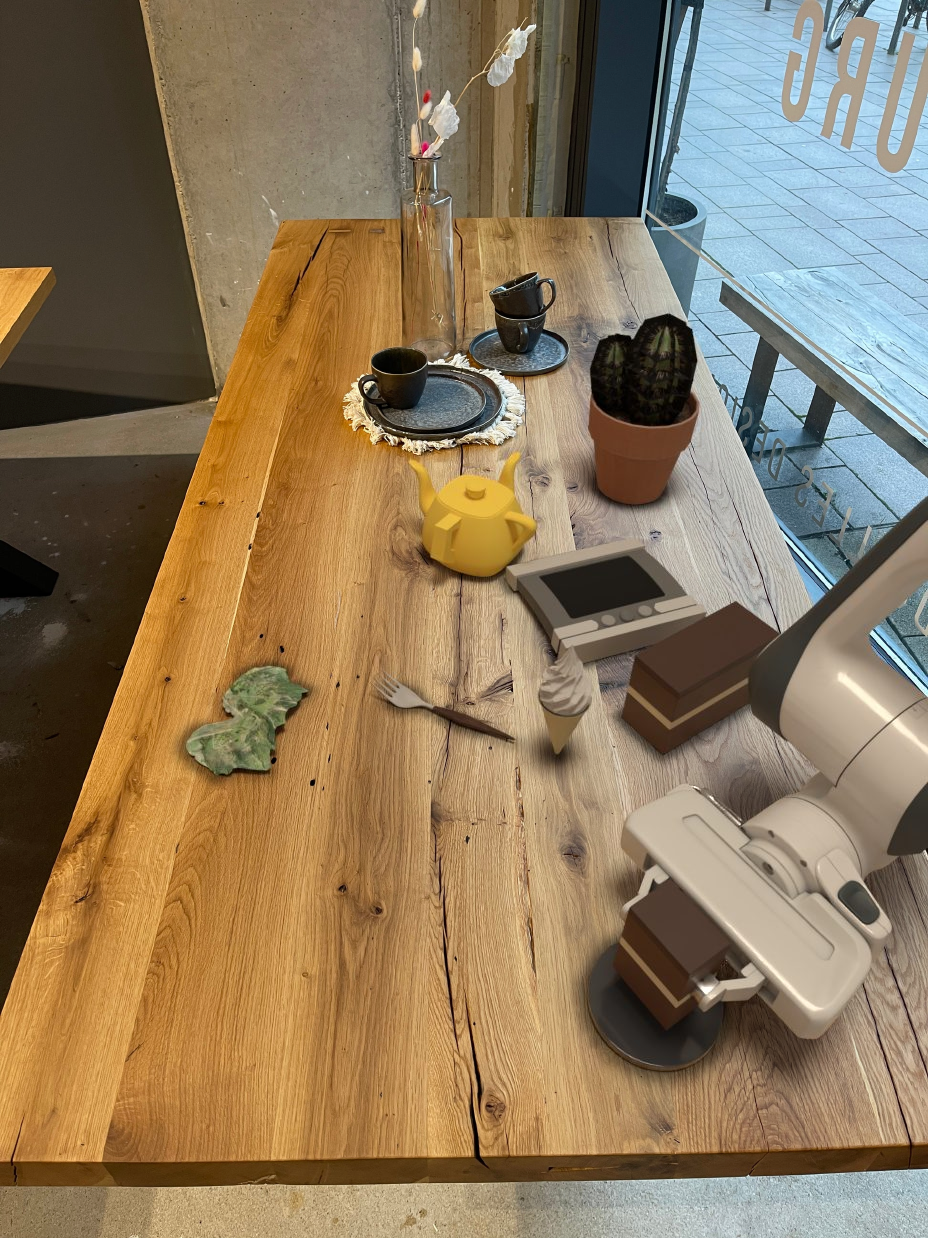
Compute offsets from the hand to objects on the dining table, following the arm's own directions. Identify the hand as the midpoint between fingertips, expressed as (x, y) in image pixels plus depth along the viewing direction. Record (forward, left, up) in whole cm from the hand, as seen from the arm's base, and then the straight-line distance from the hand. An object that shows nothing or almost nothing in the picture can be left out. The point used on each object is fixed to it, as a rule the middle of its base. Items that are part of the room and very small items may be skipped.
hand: (661, 959), depth 66 cm
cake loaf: (+9, -32, -8) cm, 34 cm away
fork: (+30, -17, -8) cm, 35 cm away
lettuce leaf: (+46, -6, -8) cm, 47 cm away
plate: (0, -1, -8) cm, 8 cm away
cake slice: (0, -1, -5) cm, 5 cm away
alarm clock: (+24, -41, -8) cm, 48 cm away
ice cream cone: (+18, -19, -8) cm, 27 cm away
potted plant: (+31, -65, -8) cm, 72 cm away
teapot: (+42, -42, -8) cm, 59 cm away
